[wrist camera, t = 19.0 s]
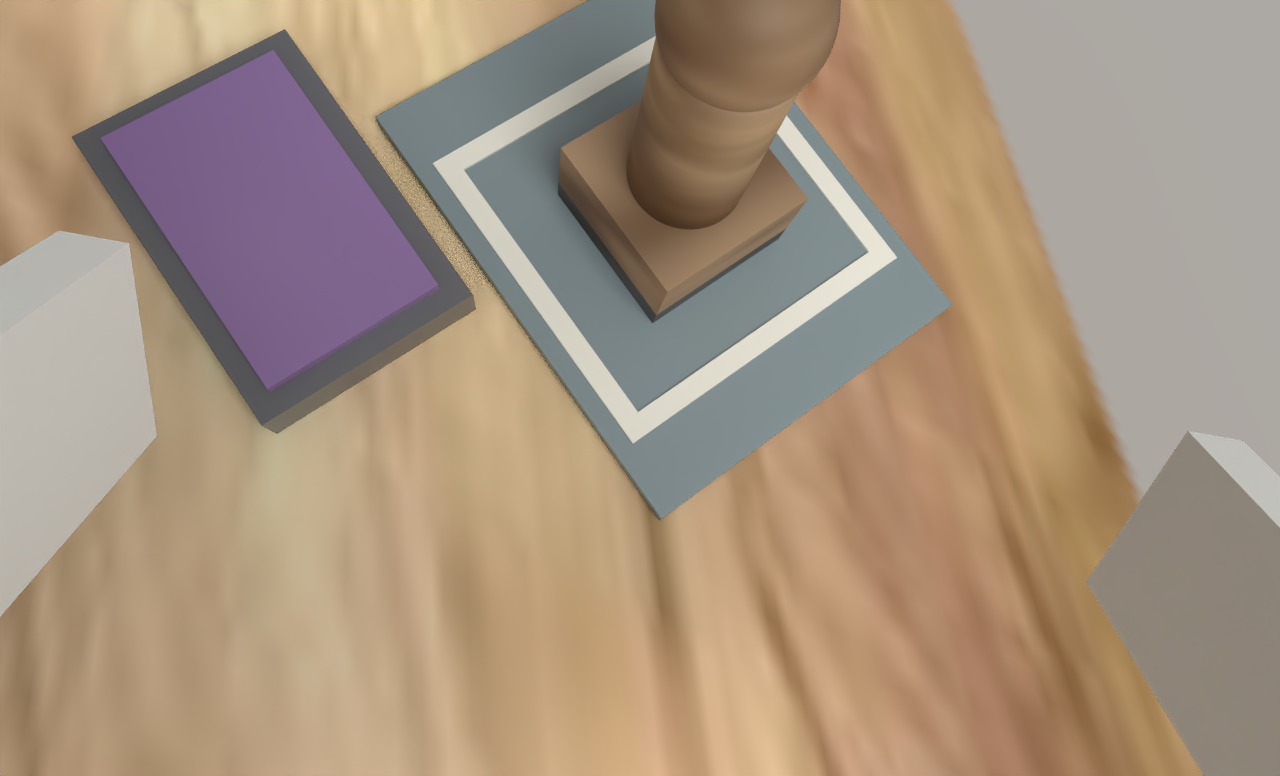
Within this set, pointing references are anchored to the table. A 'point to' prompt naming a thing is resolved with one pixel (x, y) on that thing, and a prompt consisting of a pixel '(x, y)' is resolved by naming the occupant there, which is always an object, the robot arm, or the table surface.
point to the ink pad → (276, 229)
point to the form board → (601, 304)
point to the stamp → (699, 146)
